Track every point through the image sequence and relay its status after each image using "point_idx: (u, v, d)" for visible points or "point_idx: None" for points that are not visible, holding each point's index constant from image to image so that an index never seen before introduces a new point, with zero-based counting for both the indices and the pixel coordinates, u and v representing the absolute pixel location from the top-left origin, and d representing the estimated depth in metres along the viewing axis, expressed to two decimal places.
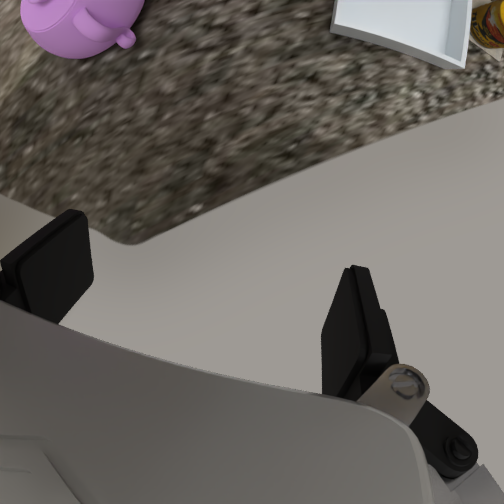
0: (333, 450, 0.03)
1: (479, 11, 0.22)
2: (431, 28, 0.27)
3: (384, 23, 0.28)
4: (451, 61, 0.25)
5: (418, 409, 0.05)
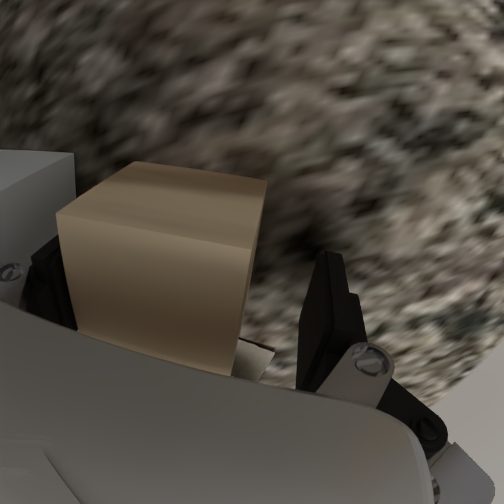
0: (333, 450, 0.03)
1: None
2: None
3: None
4: None
5: (385, 385, 0.06)
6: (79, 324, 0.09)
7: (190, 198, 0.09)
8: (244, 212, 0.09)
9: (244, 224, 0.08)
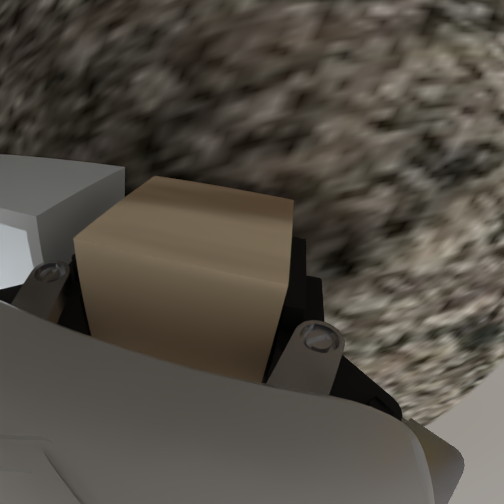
0: (333, 450, 0.03)
1: None
2: None
3: None
4: None
5: (338, 359, 0.07)
6: None
7: (217, 222, 0.08)
8: (275, 239, 0.08)
9: (277, 254, 0.08)
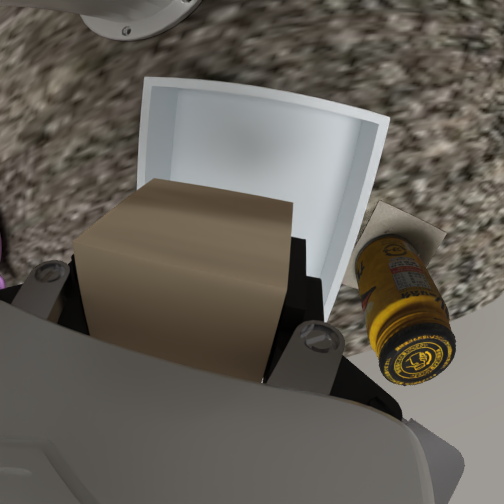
0: (333, 450, 0.03)
1: (364, 275, 0.24)
2: None
3: None
4: None
5: (339, 359, 0.07)
6: None
7: (216, 225, 0.08)
8: (274, 242, 0.08)
9: (276, 257, 0.08)
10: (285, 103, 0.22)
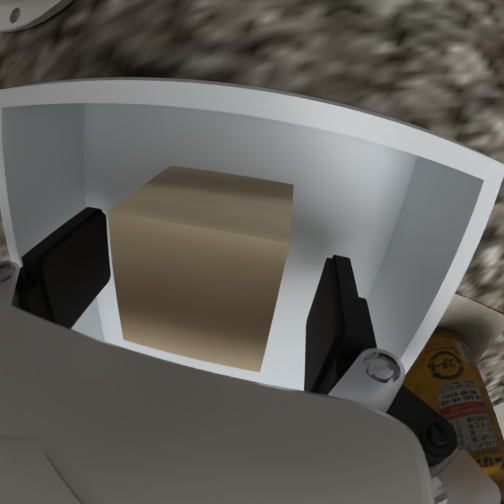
0: (333, 450, 0.03)
1: None
2: None
3: None
4: None
5: (395, 392, 0.06)
6: (122, 315, 0.10)
7: (228, 200, 0.10)
8: (278, 212, 0.10)
9: (280, 222, 0.09)
10: None
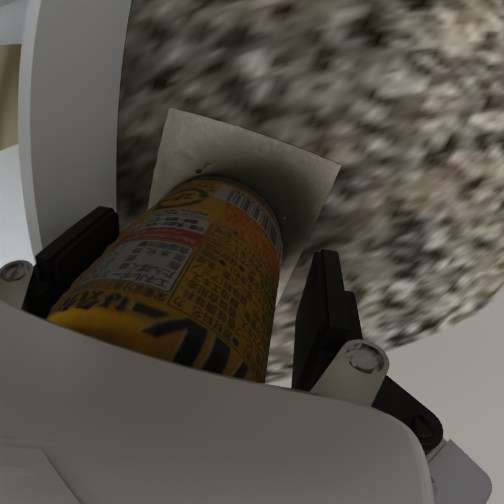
0: (333, 450, 0.03)
1: None
2: None
3: None
4: None
5: (380, 382, 0.06)
6: None
7: None
8: None
9: None
10: (25, 2, 0.09)
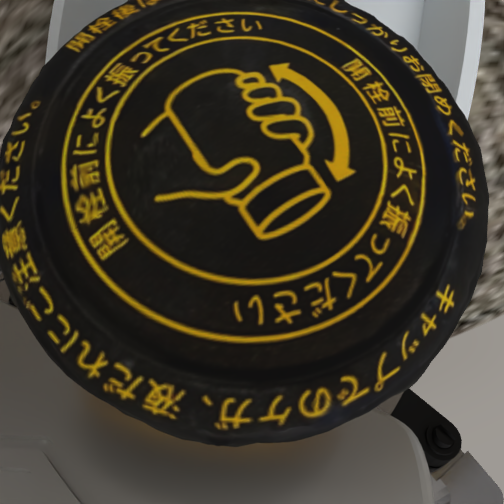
0: (333, 450, 0.03)
1: None
2: None
3: None
4: None
5: (400, 395, 0.06)
6: None
7: None
8: None
9: None
10: None
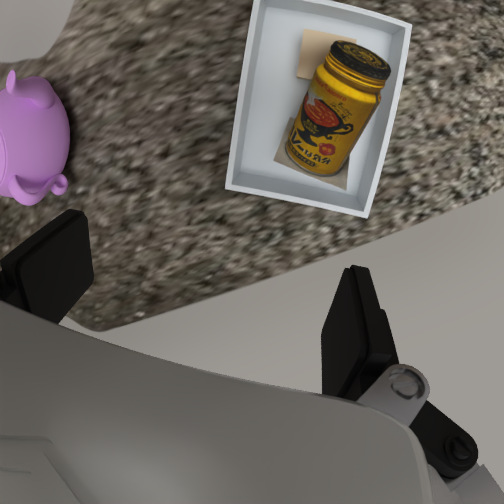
0: (333, 450, 0.03)
1: None
2: None
3: None
4: (351, 213, 0.33)
5: (418, 409, 0.05)
6: (299, 64, 0.26)
7: None
8: None
9: None
10: (341, 22, 0.27)
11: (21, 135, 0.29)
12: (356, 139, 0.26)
